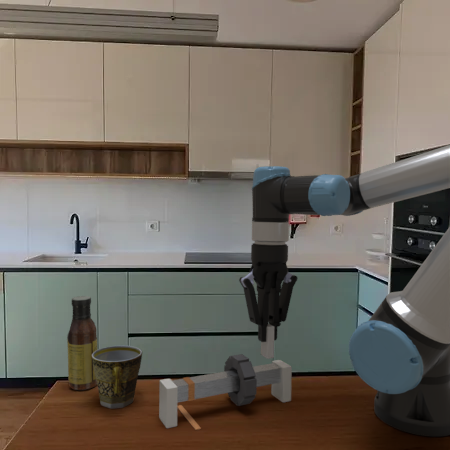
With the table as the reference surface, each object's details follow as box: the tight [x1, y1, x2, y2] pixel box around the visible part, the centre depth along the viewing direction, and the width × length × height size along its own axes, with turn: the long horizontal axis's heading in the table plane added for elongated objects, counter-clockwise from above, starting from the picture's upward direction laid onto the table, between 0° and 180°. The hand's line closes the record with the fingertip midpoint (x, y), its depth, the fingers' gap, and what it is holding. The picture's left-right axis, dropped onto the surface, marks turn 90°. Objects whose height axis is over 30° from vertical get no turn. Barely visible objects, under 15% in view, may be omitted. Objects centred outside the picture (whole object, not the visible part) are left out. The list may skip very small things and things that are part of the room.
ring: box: [223, 353, 258, 407], centre depth 86 cm, size 2×9×9 cm, turn 26°
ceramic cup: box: [92, 344, 143, 410], centre depth 86 cm, size 13×10×10 cm
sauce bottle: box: [66, 295, 98, 391], centre depth 94 cm, size 7×6×20 cm
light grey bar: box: [171, 362, 282, 404], centre depth 85 cm, size 25×3×3 cm, turn 116°
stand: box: [158, 359, 293, 431], centre depth 85 cm, size 27×10×7 cm, turn 116°
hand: (267, 356), depth 88 cm, fingers closed
